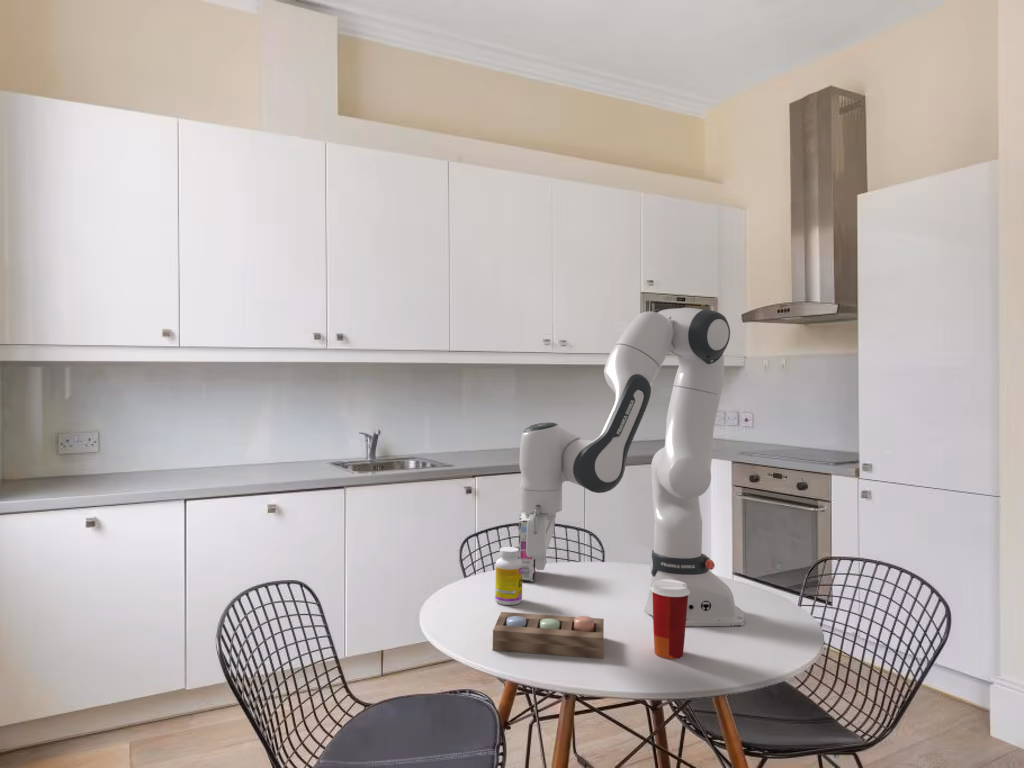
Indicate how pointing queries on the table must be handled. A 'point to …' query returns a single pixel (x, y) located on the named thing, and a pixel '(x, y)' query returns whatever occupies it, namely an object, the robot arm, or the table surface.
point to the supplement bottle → (508, 577)
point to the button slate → (516, 621)
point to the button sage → (549, 624)
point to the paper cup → (669, 617)
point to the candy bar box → (528, 562)
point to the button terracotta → (584, 624)
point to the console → (548, 637)
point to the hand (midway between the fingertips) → (540, 568)
